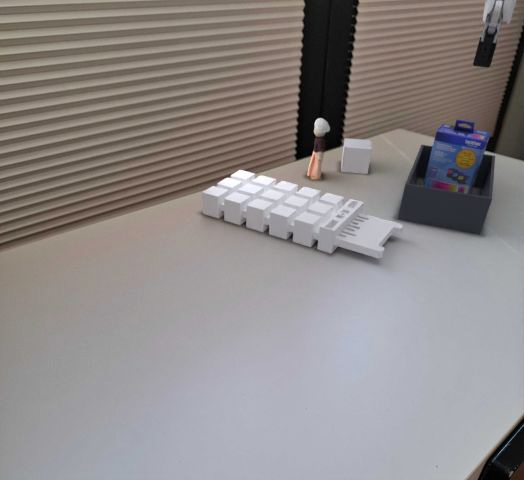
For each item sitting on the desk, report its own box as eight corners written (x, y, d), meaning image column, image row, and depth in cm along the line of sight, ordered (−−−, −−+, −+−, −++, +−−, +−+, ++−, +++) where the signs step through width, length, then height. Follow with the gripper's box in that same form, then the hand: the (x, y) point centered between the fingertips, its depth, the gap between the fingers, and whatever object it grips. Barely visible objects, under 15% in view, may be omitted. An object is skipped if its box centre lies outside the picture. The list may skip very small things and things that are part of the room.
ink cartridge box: (420, 189, 109) (438, 117, 99) (427, 180, 112) (445, 110, 103) (467, 199, 105) (490, 126, 96) (472, 190, 109) (495, 119, 99)
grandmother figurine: (303, 172, 115) (309, 113, 106) (320, 172, 115) (326, 113, 107) (310, 186, 109) (315, 124, 101) (327, 186, 109) (334, 124, 101)
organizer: (240, 169, 102) (407, 213, 89) (240, 192, 105) (402, 238, 93) (202, 192, 94) (381, 244, 81) (203, 216, 97) (376, 270, 84)
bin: (413, 178, 114) (421, 144, 109) (483, 190, 110) (495, 155, 106) (396, 221, 98) (405, 184, 93) (478, 237, 94) (492, 199, 89)
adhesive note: (366, 166, 119) (371, 140, 115) (367, 176, 114) (372, 149, 110) (340, 164, 119) (344, 137, 115) (340, 174, 115) (344, 146, 111)
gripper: (540, -52, 81) (501, 75, 93) (536, -56, 93) (502, 57, 105) (490, -55, 83) (458, 70, 95) (493, -58, 95) (464, 53, 107)
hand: (482, 62), depth 100 cm, fingers open, 4 cm apart
